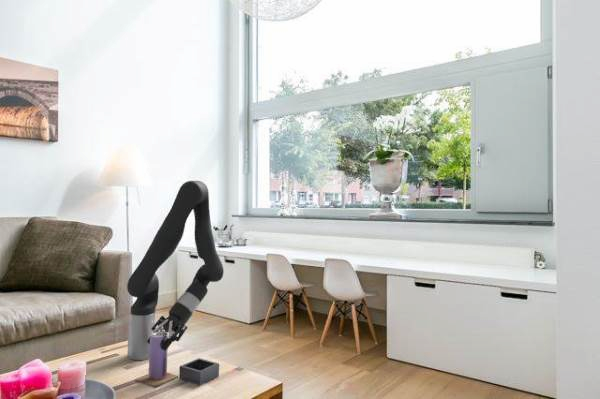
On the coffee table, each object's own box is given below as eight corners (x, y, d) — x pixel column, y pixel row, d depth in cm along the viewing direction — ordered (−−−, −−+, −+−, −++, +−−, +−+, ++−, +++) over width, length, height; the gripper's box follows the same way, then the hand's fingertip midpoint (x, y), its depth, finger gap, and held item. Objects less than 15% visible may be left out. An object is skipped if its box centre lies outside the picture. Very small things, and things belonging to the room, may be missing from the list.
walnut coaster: (135, 380, 149) (135, 379, 149) (158, 371, 158) (158, 369, 158) (156, 387, 144) (156, 385, 144) (178, 377, 153) (178, 375, 153)
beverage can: (161, 381, 148) (162, 337, 148) (145, 379, 149) (146, 335, 149) (169, 374, 154) (171, 332, 154) (154, 373, 155) (155, 330, 155)
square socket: (179, 379, 152) (179, 366, 152) (198, 370, 160) (198, 358, 160) (200, 385, 147) (200, 372, 147) (218, 376, 155) (219, 363, 155)
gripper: (167, 298, 162) (137, 335, 153) (190, 304, 153) (160, 345, 144) (179, 310, 166) (150, 347, 157) (202, 317, 157) (174, 357, 148)
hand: (155, 346), depth 150 cm, fingers open, 8 cm apart
